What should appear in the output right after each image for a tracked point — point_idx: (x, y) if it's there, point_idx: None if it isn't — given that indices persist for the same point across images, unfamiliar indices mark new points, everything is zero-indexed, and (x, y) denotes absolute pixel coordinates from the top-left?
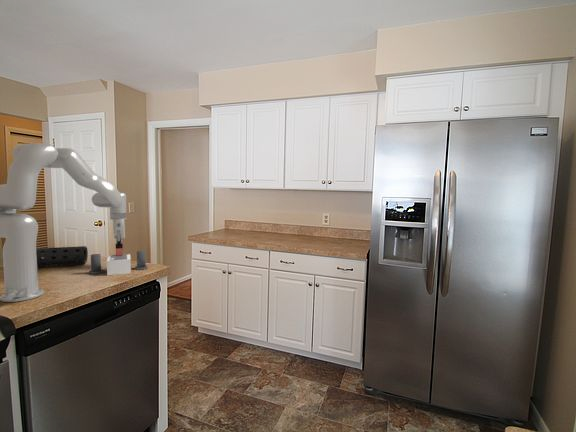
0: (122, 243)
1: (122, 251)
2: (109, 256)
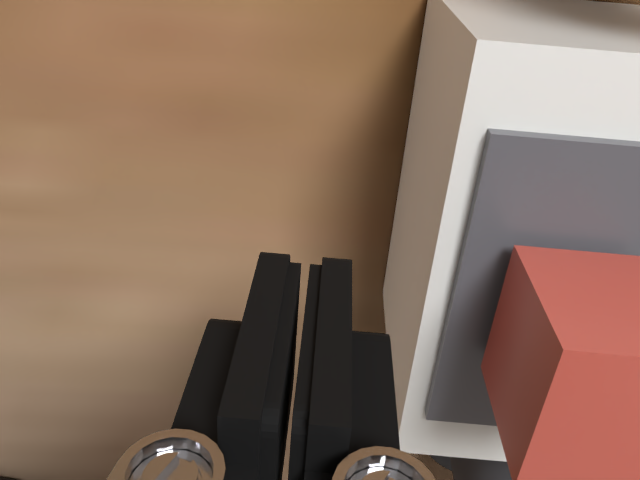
0: (264, 420)
1: (569, 293)
2: (478, 439)
